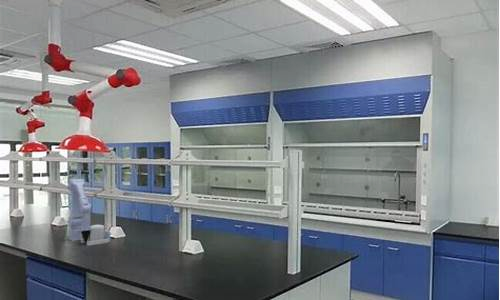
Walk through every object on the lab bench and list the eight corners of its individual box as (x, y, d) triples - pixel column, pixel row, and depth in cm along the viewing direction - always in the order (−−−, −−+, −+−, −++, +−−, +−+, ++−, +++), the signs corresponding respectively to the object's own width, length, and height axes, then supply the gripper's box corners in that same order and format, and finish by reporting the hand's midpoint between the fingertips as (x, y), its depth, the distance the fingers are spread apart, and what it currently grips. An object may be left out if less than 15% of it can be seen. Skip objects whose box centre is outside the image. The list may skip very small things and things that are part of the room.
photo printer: (103, 241, 274) (103, 223, 274) (104, 242, 270) (104, 224, 270) (88, 242, 268) (88, 224, 269) (89, 243, 265) (89, 226, 265)
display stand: (81, 242, 268) (81, 232, 268) (103, 239, 279) (103, 229, 279) (87, 245, 259) (87, 235, 259) (110, 242, 270) (110, 232, 270)
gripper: (77, 224, 257) (76, 244, 256) (98, 221, 267) (98, 241, 266) (73, 222, 262) (73, 242, 262) (94, 220, 272) (94, 239, 272)
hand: (85, 241), depth 264 cm, fingers closed
